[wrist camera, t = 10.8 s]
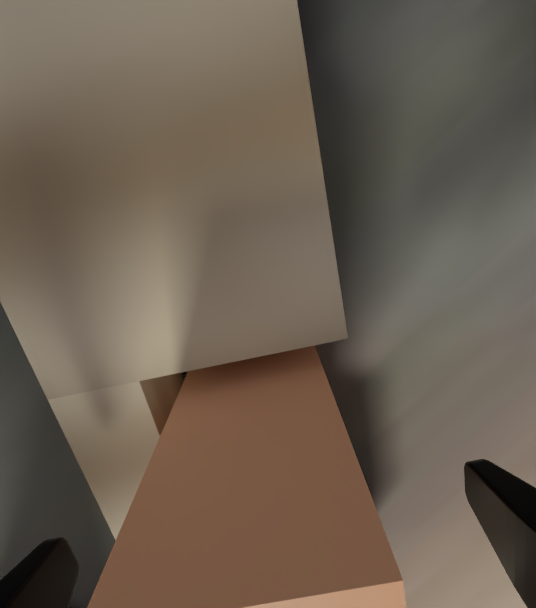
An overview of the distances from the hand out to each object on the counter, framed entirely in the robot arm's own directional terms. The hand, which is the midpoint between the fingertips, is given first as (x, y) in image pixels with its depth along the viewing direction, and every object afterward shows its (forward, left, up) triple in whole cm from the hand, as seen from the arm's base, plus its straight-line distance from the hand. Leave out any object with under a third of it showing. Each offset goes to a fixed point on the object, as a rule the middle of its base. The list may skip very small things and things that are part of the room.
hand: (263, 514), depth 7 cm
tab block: (0, 0, -5) cm, 5 cm away
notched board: (+2, +1, -5) cm, 6 cm away
